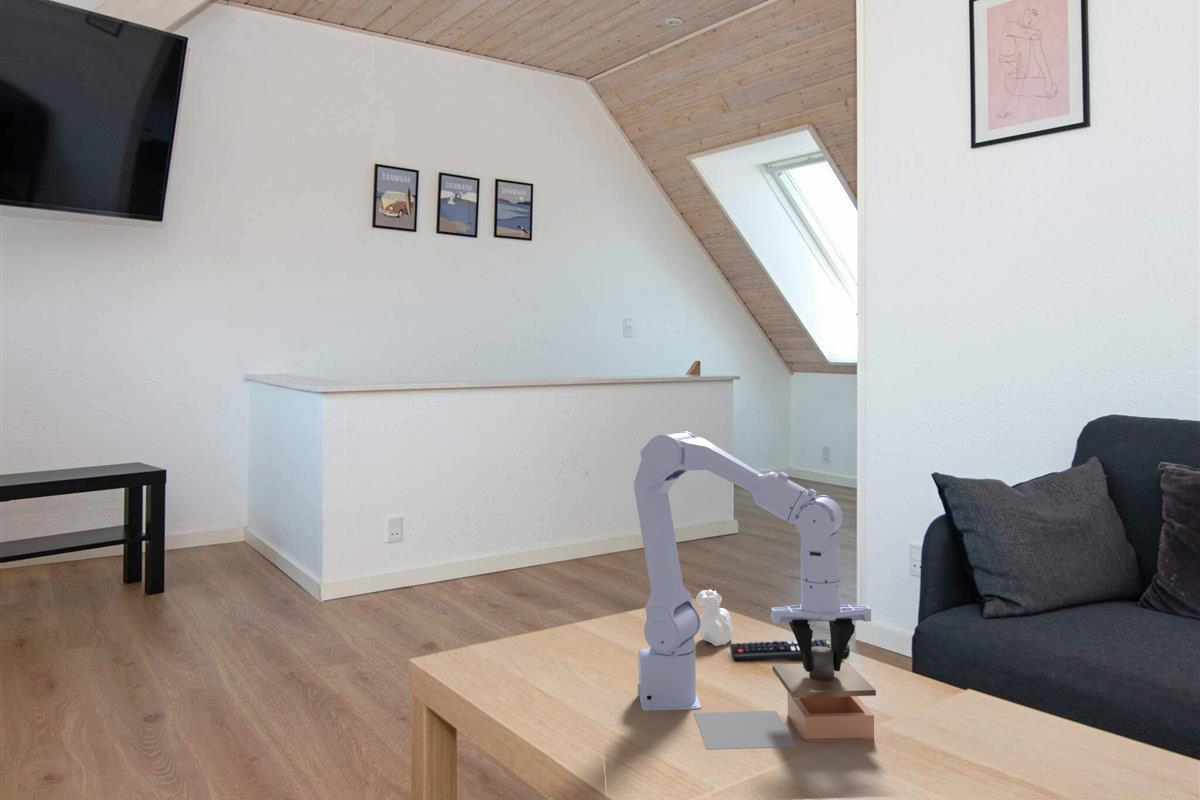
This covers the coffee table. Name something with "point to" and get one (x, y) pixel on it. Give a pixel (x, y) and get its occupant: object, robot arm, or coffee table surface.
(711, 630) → the bust
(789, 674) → the walnut lid
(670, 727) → the coffee table surface
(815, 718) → the peach square box
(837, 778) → the coffee table surface
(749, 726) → the rubber mat
